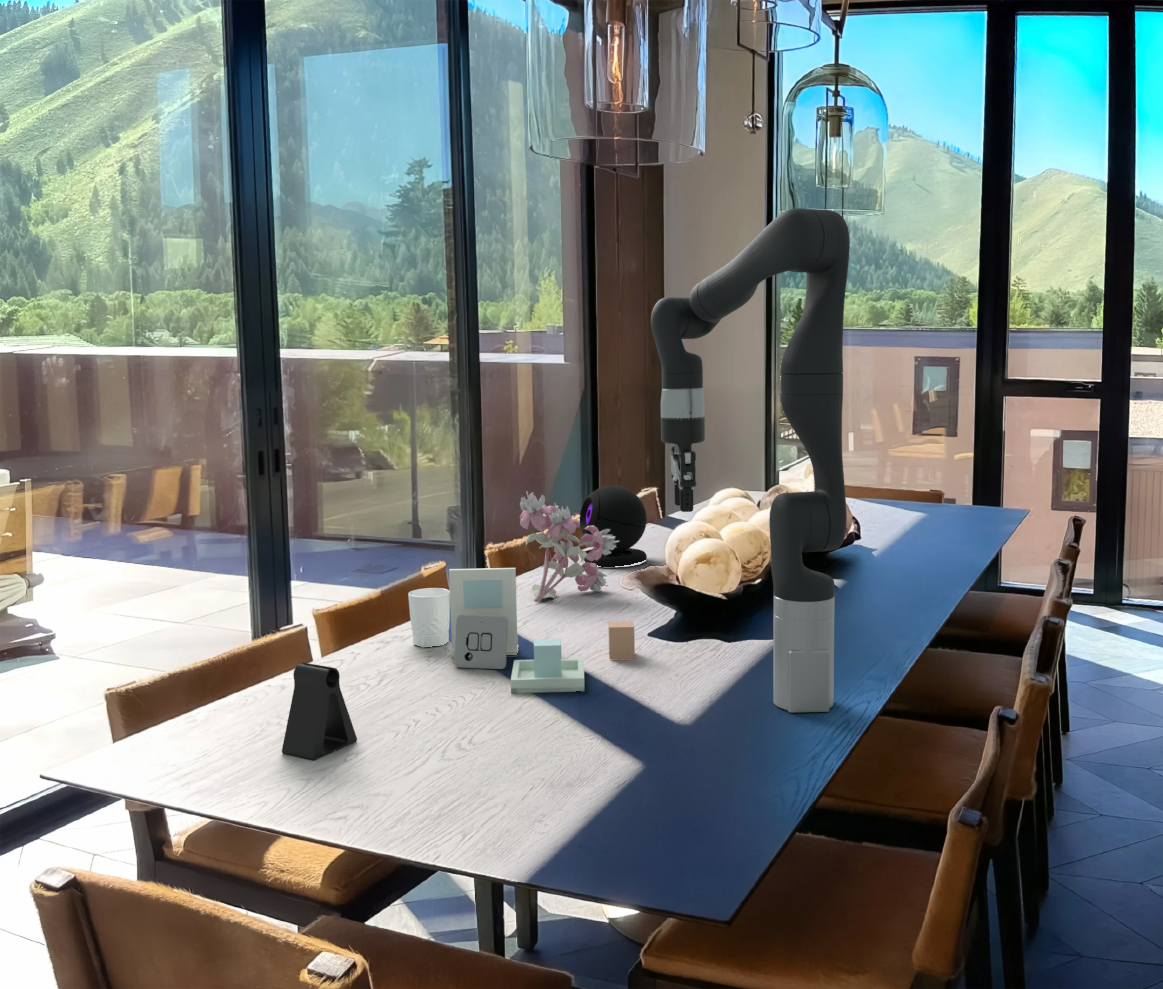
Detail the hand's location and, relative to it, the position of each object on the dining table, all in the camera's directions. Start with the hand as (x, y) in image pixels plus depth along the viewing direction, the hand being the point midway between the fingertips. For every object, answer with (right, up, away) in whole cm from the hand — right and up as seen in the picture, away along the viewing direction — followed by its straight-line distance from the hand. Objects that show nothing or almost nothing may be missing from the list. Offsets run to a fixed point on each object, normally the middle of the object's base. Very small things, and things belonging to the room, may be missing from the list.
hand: (683, 508), depth 201 cm
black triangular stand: (-55, -34, -36) cm, 74 cm away
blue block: (-23, -28, -6) cm, 37 cm away
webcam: (-9, -15, +99) cm, 101 cm away
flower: (-20, -20, +61) cm, 68 cm away
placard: (-35, -27, +12) cm, 46 cm away
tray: (-23, -29, -6) cm, 38 cm away
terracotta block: (-10, -27, +9) cm, 30 cm away
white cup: (-47, -26, +21) cm, 57 cm away
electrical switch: (-35, -28, +5) cm, 46 cm away
